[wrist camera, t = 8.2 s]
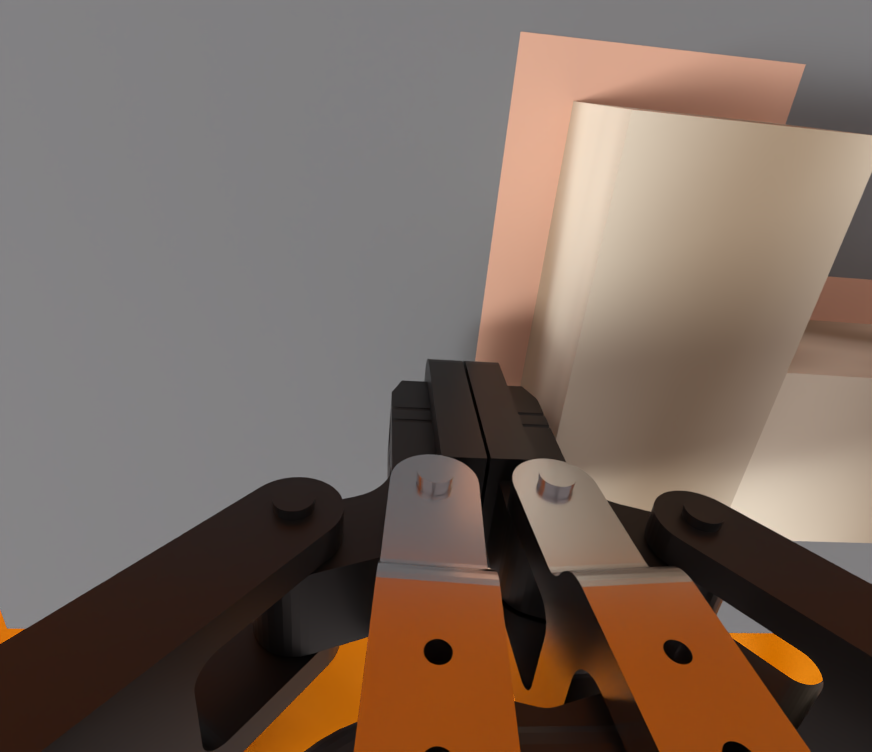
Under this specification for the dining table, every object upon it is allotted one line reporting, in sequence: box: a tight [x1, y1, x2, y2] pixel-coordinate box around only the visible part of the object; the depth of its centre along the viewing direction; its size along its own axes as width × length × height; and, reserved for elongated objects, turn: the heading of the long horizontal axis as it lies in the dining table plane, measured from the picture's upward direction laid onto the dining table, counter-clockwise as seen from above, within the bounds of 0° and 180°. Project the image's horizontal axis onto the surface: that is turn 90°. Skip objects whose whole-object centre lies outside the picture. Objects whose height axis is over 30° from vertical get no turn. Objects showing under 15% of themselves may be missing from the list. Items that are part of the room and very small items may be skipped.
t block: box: [488, 101, 872, 569], centre depth 13 cm, size 12×12×3 cm
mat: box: [0, 0, 872, 633], centre depth 14 cm, size 18×27×1 cm, turn 85°
